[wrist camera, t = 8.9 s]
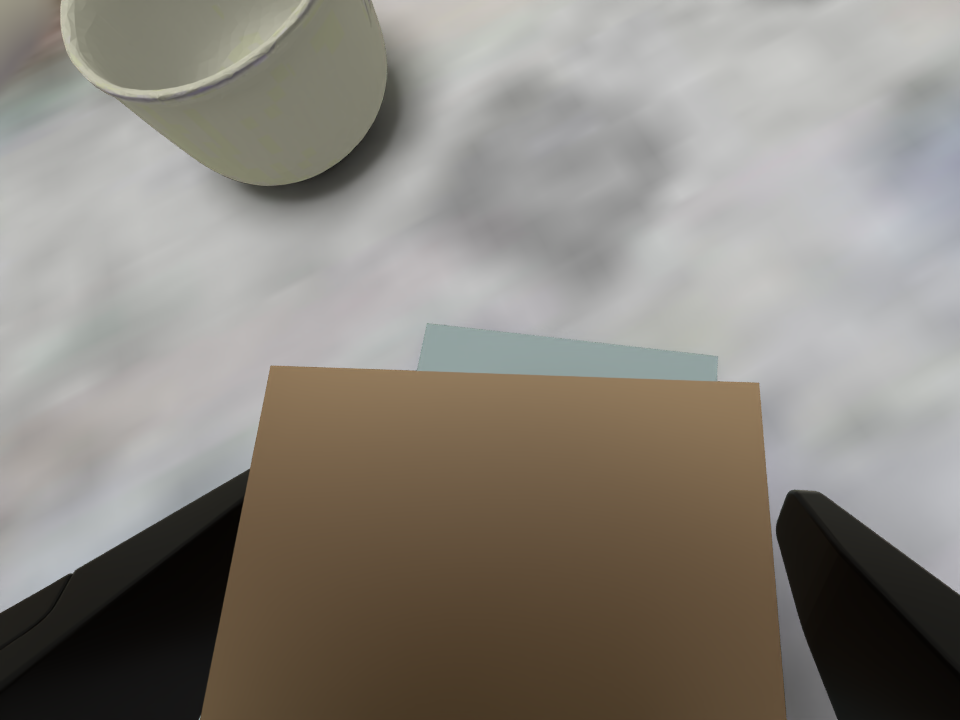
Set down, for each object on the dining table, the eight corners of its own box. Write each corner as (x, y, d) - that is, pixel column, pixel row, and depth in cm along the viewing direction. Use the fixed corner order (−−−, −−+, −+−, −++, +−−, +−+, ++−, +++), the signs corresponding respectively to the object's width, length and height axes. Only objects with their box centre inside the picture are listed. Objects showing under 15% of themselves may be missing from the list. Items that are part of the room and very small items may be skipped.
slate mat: (690, 813, 14) (693, 823, 13) (348, 709, 16) (343, 715, 15) (714, 359, 17) (717, 356, 16) (429, 326, 19) (426, 323, 19)
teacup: (453, 91, 22) (398, -116, 15) (308, 261, 21) (166, 132, 13) (268, -3, 26) (150, -203, 19) (137, 135, 25) (-46, -18, 18)
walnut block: (612, 618, 15) (821, 1140, 3) (461, 599, 16) (156, 940, 4) (612, 460, 16) (760, 382, 4) (472, 451, 17) (270, 365, 5)
